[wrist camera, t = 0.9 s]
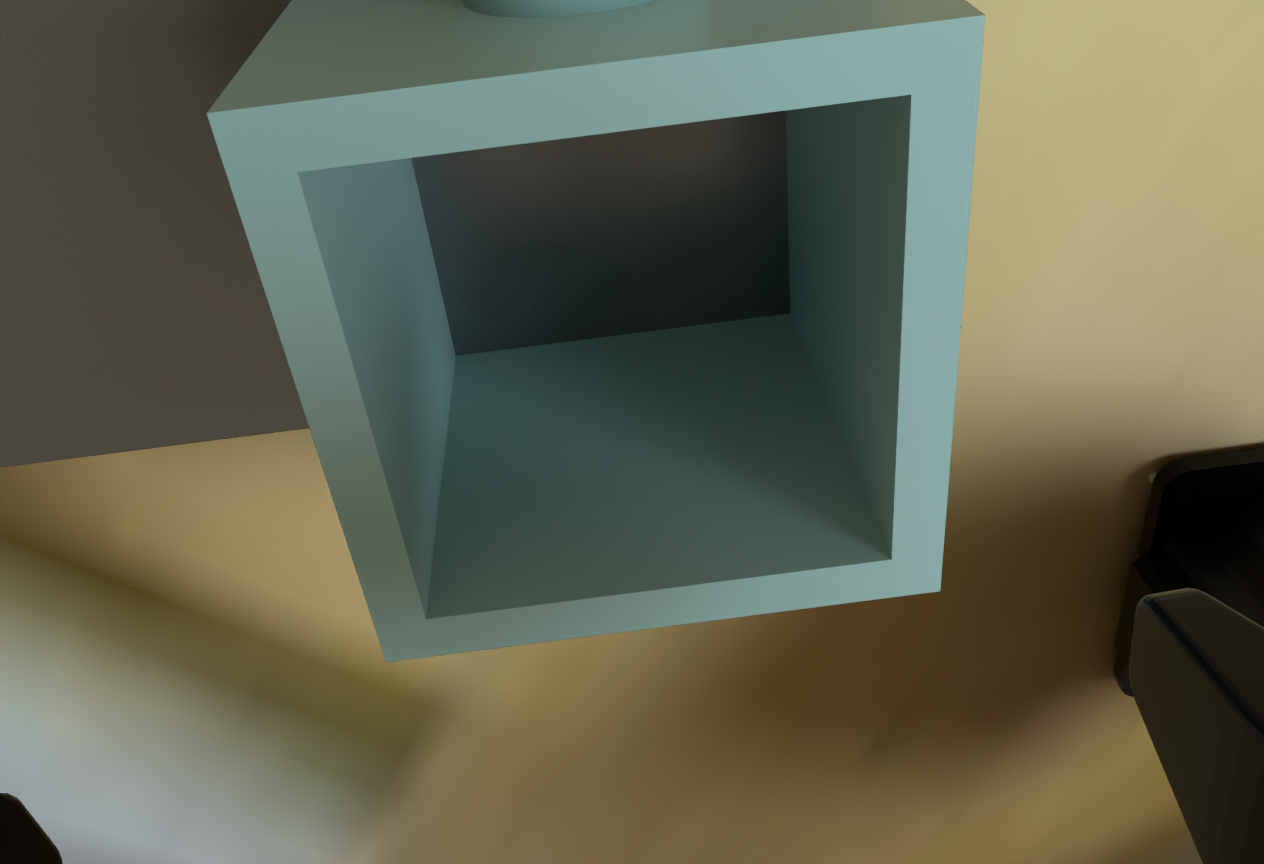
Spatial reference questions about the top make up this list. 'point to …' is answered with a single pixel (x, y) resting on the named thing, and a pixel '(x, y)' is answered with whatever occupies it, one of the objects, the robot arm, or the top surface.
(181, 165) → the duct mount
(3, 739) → the top surface
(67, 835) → the top surface
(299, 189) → the duct collar
